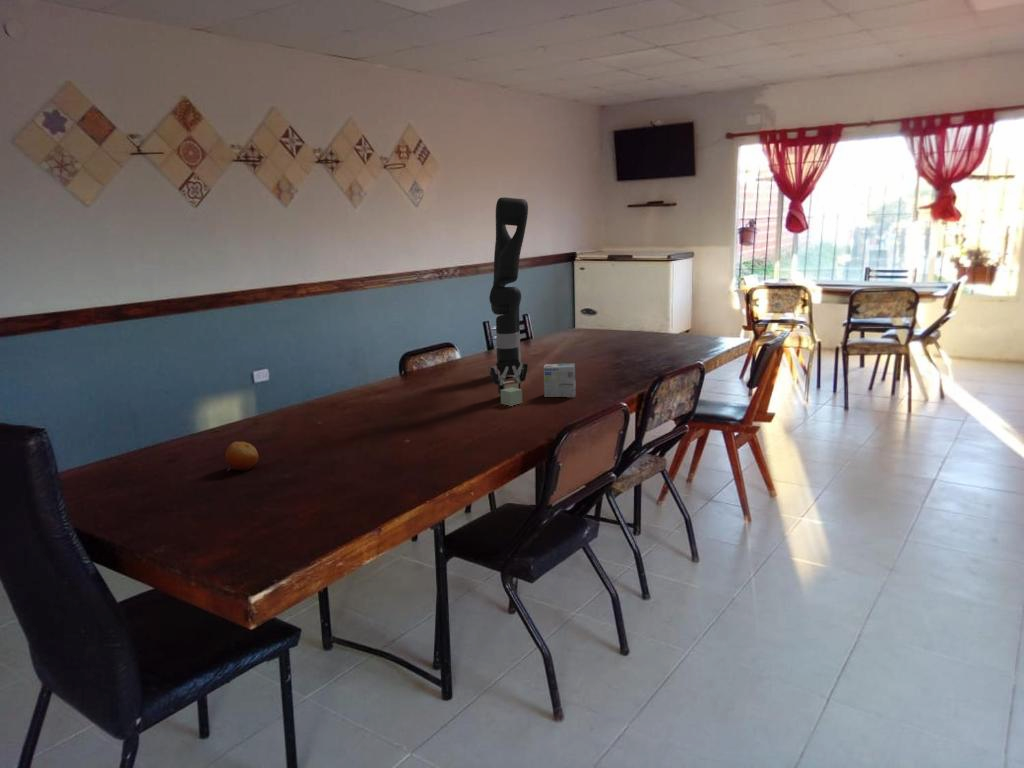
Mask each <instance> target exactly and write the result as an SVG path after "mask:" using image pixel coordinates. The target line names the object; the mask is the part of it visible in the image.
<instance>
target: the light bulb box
mask: <svg viewBox="0 0 1024 768" xmlns="http://www.w3.org/2000/svg"><path fill="white" fill-rule="evenodd" d="M542 368H543V394H544V397H567V398H575V397H576V368H575V363H553V364H552V363H549V364H548V363H545V364H544V366H543V367H542Z"/></svg>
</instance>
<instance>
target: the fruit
mask: <svg viewBox="0 0 1024 768" xmlns="http://www.w3.org/2000/svg"><path fill="white" fill-rule="evenodd" d="M224 457H225V461H226V464H227V466H228V468H227V470H226V471H227V472H229V471H230V470H234V471H242V472H243V471H245V472H246V471H249V470H251V468H252V467H254V466H255V465H256V463H257V462H258V461H259V459H260V457H259V453H258V451H257V449H256V447H255V446H254V445H252V444H251V443H248V442H245V441H233V442H232V443H230V445H228V447H227V448H226V450H225V453H224Z"/></svg>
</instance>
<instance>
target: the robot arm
mask: <svg viewBox="0 0 1024 768" xmlns="http://www.w3.org/2000/svg"><path fill="white" fill-rule="evenodd" d="M528 215H529V204H528V201H527V200H526V199H523V198H516V197H515V198H514V197H513V198H512V197H499V198H498V199H497V201H496V205H495V242H494V243H495V244H494V253H493V254H494V256H493V283H492V284H493V285H492V288H491V289H490V292H489V297H488V298H489V304H490V308H491V312H492V313H493V314H494V315H498V316H497V317H495V335H496V338H495V343H496V344H495V346H496V347H495V348H496V364H495V365H494V366H493V365H492V366H488V372H489V375H490V378H491V382H492V383H493V384H494V385H497V392H498V395H499V396H500V395H501V391H500V390H503V382H505V380H506V378H507V377H508V378H510V377H511V378H513V381H514V382H516V383H518V386H519V389H521V383H522V382H526V378H527V377H526V376H527V371H528V364H527V363H524V362H522V360H521V359H522V357H521V355H522V354H521V332H520V329H521V328H520V326H521V325H520V304H521V301H522V293H521V292H522V291H521V290H520V289H519V288H518V287H516V286H506V285H509V284H511V283H512V284H513V283H515V282H516V281H517V279H518V277H519V267H520V265H519V264H520V258H521V250H522V247H523V242H524V237H525V233H526V227H527V224H528V223H527V220H528ZM506 226H515V227H516V229H515V232H514V234H513V235H512V237H511V235H510V234H509V232H508V229H507V227H506ZM496 373H497V374H496ZM497 377H498V378H497Z"/></svg>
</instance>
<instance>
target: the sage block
mask: <svg viewBox="0 0 1024 768" xmlns="http://www.w3.org/2000/svg"><path fill="white" fill-rule="evenodd" d="M500 391H501V397H500V405H501V404H505V405H509V406H508V407H510V406H512V407H514V406H513V405H516V404H520V403H522V404H523V390H522V388H520V389H517V388H507V389H503V390H500ZM505 405H504V406H505ZM520 405H521V404H520ZM516 406H517V405H516Z"/></svg>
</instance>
